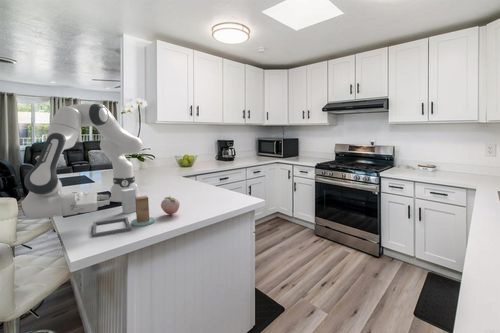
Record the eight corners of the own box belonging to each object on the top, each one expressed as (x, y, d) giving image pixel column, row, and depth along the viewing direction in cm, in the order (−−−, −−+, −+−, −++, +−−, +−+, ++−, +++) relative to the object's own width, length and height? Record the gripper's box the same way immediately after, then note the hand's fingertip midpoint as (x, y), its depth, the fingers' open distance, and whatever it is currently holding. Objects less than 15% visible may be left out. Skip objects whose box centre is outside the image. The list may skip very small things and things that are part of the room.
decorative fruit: (183, 214, 135) (183, 195, 134) (171, 218, 128) (170, 198, 127) (170, 211, 140) (170, 192, 138) (158, 215, 133) (157, 196, 131)
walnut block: (136, 219, 124) (135, 196, 122) (147, 217, 126) (146, 195, 124) (137, 222, 119) (136, 199, 118) (149, 221, 122) (148, 197, 120)
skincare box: (133, 209, 143) (131, 188, 141) (137, 211, 140) (135, 189, 138) (122, 212, 138) (120, 190, 136) (125, 214, 135) (124, 191, 134)
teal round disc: (130, 221, 125) (130, 219, 125) (152, 217, 129) (152, 215, 129) (132, 227, 116) (132, 225, 116) (156, 223, 121) (156, 221, 121)
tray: (93, 224, 120) (93, 222, 120) (127, 219, 127) (127, 217, 127) (92, 236, 106) (92, 234, 106) (130, 230, 113) (130, 227, 113)
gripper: (68, 203, 101) (109, 197, 108) (73, 191, 119) (108, 187, 125) (70, 218, 102) (110, 212, 109) (74, 204, 120) (109, 200, 126)
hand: (109, 199), depth 117 cm, fingers open, 8 cm apart
